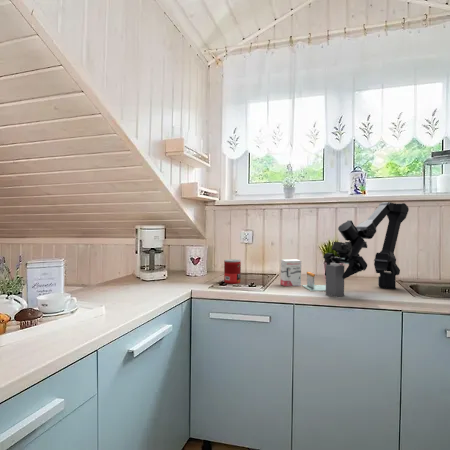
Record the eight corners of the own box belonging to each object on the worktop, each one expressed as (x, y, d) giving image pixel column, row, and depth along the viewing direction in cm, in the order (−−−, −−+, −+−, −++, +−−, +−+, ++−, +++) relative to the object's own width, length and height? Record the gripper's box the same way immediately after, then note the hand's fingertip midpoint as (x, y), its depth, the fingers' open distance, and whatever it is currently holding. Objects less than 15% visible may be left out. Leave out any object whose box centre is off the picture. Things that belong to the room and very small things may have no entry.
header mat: (329, 285, 163) (329, 284, 163) (340, 290, 150) (340, 290, 150) (302, 285, 162) (302, 285, 162) (310, 291, 150) (310, 290, 150)
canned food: (240, 284, 167) (240, 260, 167) (224, 283, 167) (224, 260, 167) (240, 281, 175) (240, 259, 175) (224, 281, 175) (224, 259, 175)
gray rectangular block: (334, 293, 145) (334, 262, 145) (344, 295, 141) (344, 263, 141) (325, 294, 143) (325, 263, 143) (335, 296, 138) (335, 264, 138)
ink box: (284, 286, 161) (284, 260, 161) (280, 284, 165) (280, 259, 165) (301, 285, 163) (302, 260, 163) (296, 284, 168) (296, 259, 168)
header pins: (310, 286, 160) (310, 271, 160) (315, 289, 152) (315, 274, 152) (306, 286, 160) (306, 271, 160) (311, 289, 152) (311, 274, 152)
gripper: (326, 234, 152) (307, 261, 147) (362, 235, 136) (342, 265, 130) (339, 252, 156) (320, 278, 151) (375, 255, 140) (356, 285, 134)
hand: (334, 276), depth 141 cm, fingers open, 9 cm apart
